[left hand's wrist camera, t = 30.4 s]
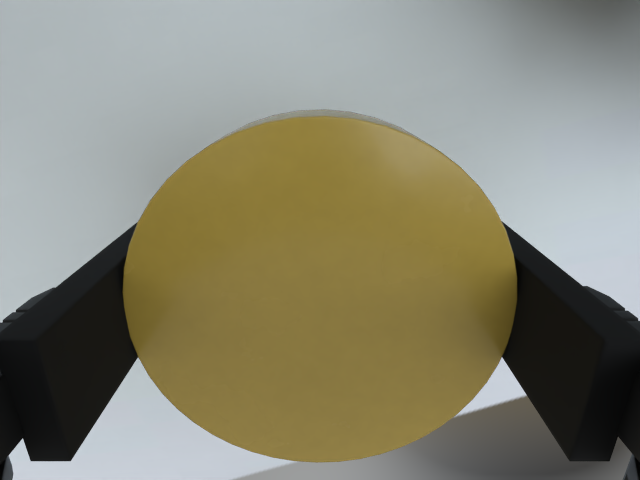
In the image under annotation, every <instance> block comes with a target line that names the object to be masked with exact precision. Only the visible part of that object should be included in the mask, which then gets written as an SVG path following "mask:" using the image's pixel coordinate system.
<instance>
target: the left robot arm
mask: <svg viewBox="0 0 640 480" xmlns="http://www.w3.org/2000/svg"><path fill="white" fill-rule="evenodd" d="M137 223H138V222H137ZM137 223H136V224H135V225H133V226H132V227H131V228H130V229H128V230H127V231H126V232H125V233H123V234H122V235H121V236H120V237H118V238H117V239H116V240H115V241H113V242H112V243H111V244H110V245H108V246H107V247H106V248H105V249H103V250H102V251H101V252H100V253H98V254H97V255H96V256H95V257H93V258H92V259H91V260H90V261H88V262H87V263H86V264H85V265H83V266H82V267H81V268H80V269H78V270H77V271H76V272H75V273H73V274H72V275H71V276H70V277H68V278H67V279H66V280H65V281H63V282H62V283H61V284H60V285H58V286H57V287H56V288H52V289H49V290H47V291H45V292H43V293H41V294H39V295H37V296H35V297H33V298H31V299H30V300H28V301H27V302H26V303H24V304H23V305H22V306H21V307H19V308H18V309H17V310H16V312H13V313H11V314H10V315H9V316H8V317H6V318H5V319H4V320H3V323H0V480H12V478H13V469H12V464H11V462H10V459H9V456H8V455H9V454H10V453H11V452H12V450H13V449H14V448H15V447H16V446H17V444H18V443H19V442H20V441H21V439H22V438H23V439H24V442H25V445H26V448H27V451H28V454H29V457H30V460H31V461H71V460H72V458H73V457H74V455H75V454H76V452H77V450H78V449H79V447H80V446H81V444H82V443H83V441H84V440H85V438H86V437H87V435H88V433H89V432H90V430H91V429H92V427H93V426H94V424H95V423H96V421H97V420H98V418H99V416H100V415H101V413H102V412H103V410H104V409H105V407H106V406H107V404H108V403H109V401H110V399H111V398H112V396H113V395H114V393H115V392H116V390H117V389H118V387H119V386H120V384H121V382H122V381H123V379H124V378H125V376H126V375H127V373H128V372H129V370H130V369H131V367H132V366H133V364H134V362H135V361H136V359H137V358H138V355H137V353H136V350H135V348H134V345H133V343H132V340H131V338H130V334H129V329H128V324H127V319H126V314H125V308H124V302H123V277H124V266H125V261H126V257H127V252H128V247H129V244H130V241H131V239H132V236H133V233H134V231H135V228H136V226H137ZM502 223H503V222H502ZM503 225H504V227H505V229H506V232H507V235H508V238H509V241H510V244H511V247H512V251H513V254H514V260H515V267H516V273H517V305H516V311H515V316H514V321H513V326H512V331H511V334H510V338H509V341H508V344H507V346H506V348H505V351H504V353H503V355H502V357H503V359H504V360H505V362H506V364H507V365H508V367H509V368H510V370H511V371H512V373H513V374H514V376H515V377H516V379H517V381H518V382H519V384H520V385H521V387H522V388H523V390H524V391H525V393H526V394H527V396H528V397H529V399H530V401H531V402H532V404H533V405H534V407H535V408H536V410H537V411H538V413H539V414H540V416H541V418H542V419H543V421H544V422H545V424H546V425H547V427H548V428H549V430H550V431H551V433H552V435H553V436H554V438H555V439H556V441H557V442H558V444H559V445H560V447H561V448H562V450H563V451H564V453H565V455H566V456H567V458H568V459H569V461H610V458H611V455H612V452H613V449H614V446H615V444H616V440H617V437H619V438H620V439H621V440H622V442H623V443H624V444H625V445H626V446H627V448H628V449H629V450H630V451H631V452H632V456H631V459H630V462H629V464H628V467H627V470H626V473H625V475H624V478H623V480H640V321H638V318H637V317H635V316H634V315H633V314H632V313H630V312H629V311H625V308H624V307H622V306H621V305H620V304H618V303H617V302H616V301H614V300H613V299H612V298H611V297H609V296H607V295H605V294H603V293H601V292H599V291H597V290H594V289H592V288H590V287H588V286H582V285H581V284H579V283H578V282H577V281H576V280H574V279H573V278H572V277H571V276H569V275H568V274H567V273H566V272H564V271H563V270H562V269H561V268H559V267H558V266H557V265H556V264H554V263H553V262H552V261H551V260H549V259H548V258H547V257H546V256H544V255H543V254H542V253H541V252H539V251H538V250H537V249H536V248H534V247H533V246H532V245H531V244H529V243H528V242H527V241H526V240H524V239H523V238H522V237H521V236H519V235H518V234H517V233H516V232H514V231H513V230H512V229H511V228H509V227H508V226H507V225H506V224H504V223H503Z"/></svg>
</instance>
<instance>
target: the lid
mask: <svg viewBox="0 0 640 480" xmlns="http://www.w3.org/2000/svg"><path fill="white" fill-rule="evenodd" d="M123 302H124V308H125V314H126V319H127V324H128V329H129V334H130V338H131V340H132V343H133V345H134V348H135V350H136V353H137V355H138V357H139V359H140V361H141V363H142V364H143V366H144V368H145V370H146V371H147V373H148V375H149V376H150V378H151V379H152V380H153V382H154V383H155V384H156V386H157V387H158V388H159V390H160V391H161V392H162V394H163V395H164V396H165V397H166V398H167V399H168V400H169V401H170V402H171V403H172V404H173V405H174V406H175V407H176V408H177V409H178V410H179V411H180V412H182V413H183V414H184V415H185V416H187V417H188V418H189V419H190V420H191V421H193V422H194V423H195V424H197V425H199V426H200V427H202V428H203V429H205V430H206V431H208V432H209V433H211V434H213V435H215V436H217V437H219V438H221V439H222V440H224V441H226V442H228V443H230V444H233V445H235V446H238V447H241V448H243V449H246V450H249V451H251V452H255V453H258V454H262V455H266V456H269V457H273V458H279V459H285V460H292V461H302V462H340V461H348V460H355V459H362V458H366V457H370V456H375V455H379V454H382V453H386V452H388V451H391V450H394V449H397V448H400V447H403V446H405V445H407V444H409V443H411V442H414V441H416V440H418V439H420V438H422V437H424V436H426V435H427V434H429V433H431V432H432V431H434V430H436V429H437V428H439V427H441V426H442V425H443V424H445V423H446V422H447V421H449V420H450V419H451V418H453V417H454V416H455V415H457V414H458V413H459V412H460V411H461V410H462V409H463V408H464V407H465V406H466V405H467V404H468V403H469V402H470V401H471V400H472V399H473V398H474V397H475V396H476V395H477V394H478V392H479V391H480V390H481V389H482V387H483V386H484V385H485V384H486V383H487V381H488V380H489V378H490V376H491V375H492V373H493V372H494V370H495V368H496V367H497V365H498V364H499V362H500V359H501V357H502V355H503V353H504V351H505V348H506V346H507V344H508V341H509V338H510V334H511V331H512V326H513V321H514V316H515V311H516V305H517V273H516V267H515V260H514V254H513V251H512V247H511V244H510V241H509V238H508V235H507V232H506V229H505V227H504V225H503V223H502V221H501V219H500V218H499V216H498V214H497V212H496V210H495V208H494V206H493V205H492V203H491V202H490V201H489V199H488V198H487V196H486V195H485V194H484V192H483V191H482V189H481V188H480V187H479V186H478V185H477V184H476V183H475V181H474V180H473V179H472V178H471V177H470V176H469V175H468V174H467V173H466V172H465V171H464V170H463V169H462V168H461V167H460V166H458V165H457V164H456V163H454V162H453V161H452V160H451V159H449V158H448V157H447V156H445V155H444V154H443V153H441V152H440V151H439V150H437V149H436V148H434V147H432V146H431V145H429V144H428V143H426V142H425V141H423V140H421V139H420V138H418V137H416V136H414V135H413V134H411V133H409V132H407V131H405V130H404V129H402V128H400V127H398V126H395V125H393V124H390V123H388V122H385V121H382V120H380V119H377V118H374V117H370V116H366V115H362V114H357V113H353V112H347V111H336V110H325V109H323V110H301V111H294V112H289V113H283V114H278V115H273V116H270V117H267V118H264V119H261V120H258V121H255V122H252V123H249V124H247V125H245V126H243V127H241V128H239V129H237V130H235V131H233V132H231V133H229V134H227V135H225V136H224V137H222V138H220V139H219V140H217V141H216V142H214V143H212V144H211V145H209V146H208V147H206V148H205V149H204V150H202V151H201V152H199V153H198V154H196V155H195V156H193V157H192V158H190V159H189V160H188V161H186V162H185V163H184V164H183V165H182V166H181V167H180V168H179V169H178V170H177V171H176V172H174V173H173V174H172V175H171V176H170V177H169V178H168V179H167V180H166V181H165V182H164V184H163V185H162V186H161V188H160V189H159V190H158V191H157V193H156V194H155V195H154V196H153V198H152V199H151V200H150V202H149V203H148V205H147V207H146V209H145V210H144V212H143V214H142V216H141V217H140V219H139V221H138V223H137V226H136V228H135V231H134V233H133V236H132V239H131V241H130V244H129V247H128V252H127V257H126V261H125V266H124V277H123Z"/></svg>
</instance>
